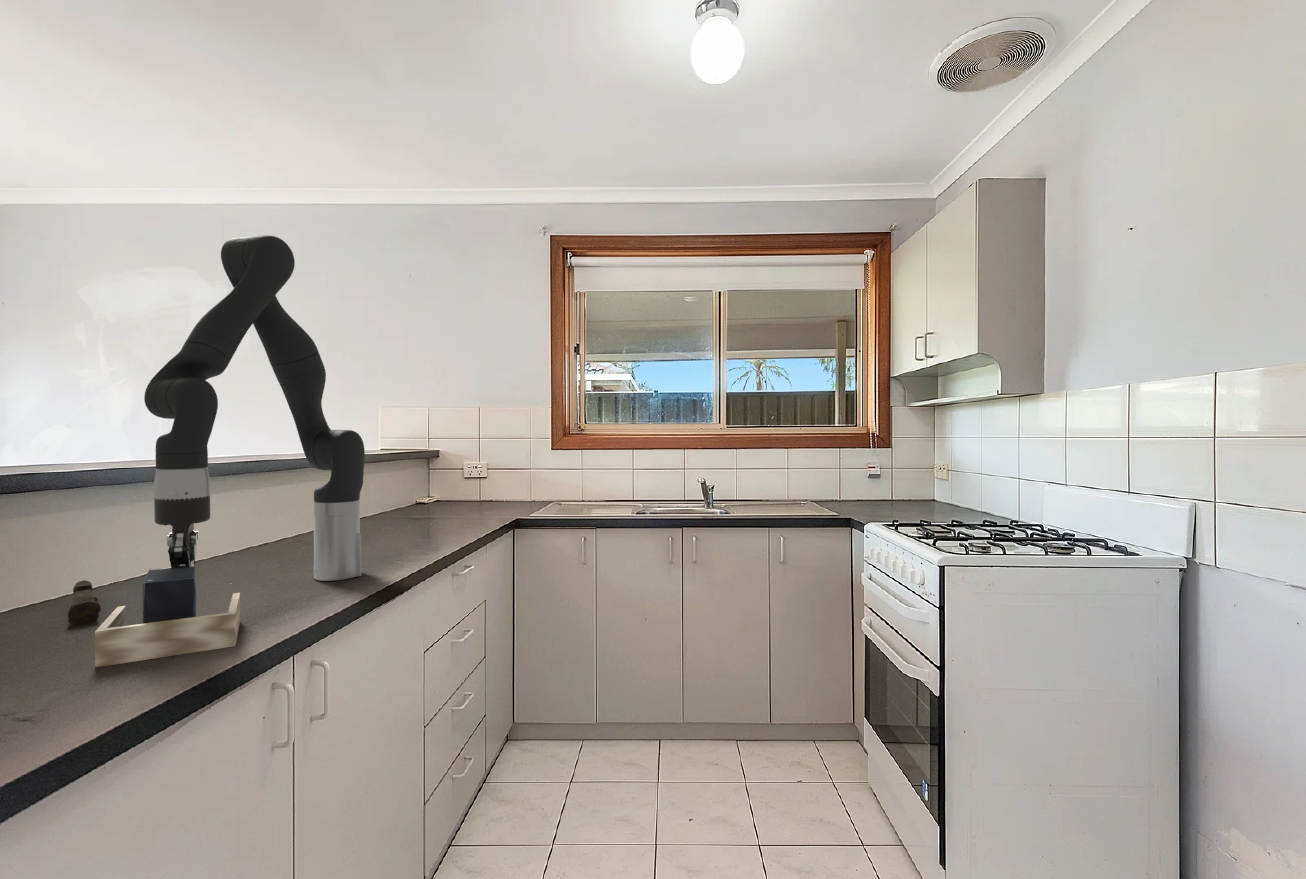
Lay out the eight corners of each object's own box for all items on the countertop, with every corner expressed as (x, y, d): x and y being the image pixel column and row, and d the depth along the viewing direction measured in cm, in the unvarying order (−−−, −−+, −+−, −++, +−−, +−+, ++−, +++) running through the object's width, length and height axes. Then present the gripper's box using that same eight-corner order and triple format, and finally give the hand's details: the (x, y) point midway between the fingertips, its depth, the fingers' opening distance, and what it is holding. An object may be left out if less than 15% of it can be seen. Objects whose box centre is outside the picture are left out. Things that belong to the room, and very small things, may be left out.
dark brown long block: (100, 623, 103) (100, 596, 103) (67, 628, 101) (67, 600, 101) (102, 600, 117) (102, 576, 117) (74, 604, 115) (74, 579, 115)
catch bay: (240, 621, 104) (240, 592, 104) (235, 645, 92) (235, 613, 92) (117, 637, 95) (117, 606, 95) (95, 667, 83) (95, 631, 83)
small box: (196, 644, 92) (196, 576, 92) (140, 653, 88) (140, 582, 88) (197, 626, 101) (196, 564, 101) (146, 634, 97) (146, 569, 97)
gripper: (205, 497, 99) (207, 601, 99) (213, 489, 110) (214, 583, 111) (146, 500, 95) (148, 609, 95) (161, 491, 106) (162, 588, 107)
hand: (184, 594), depth 103 cm, fingers closed
